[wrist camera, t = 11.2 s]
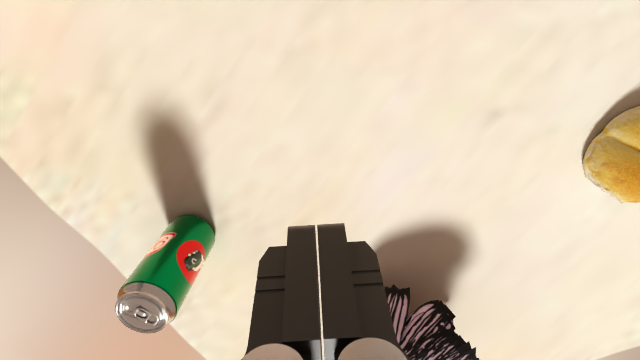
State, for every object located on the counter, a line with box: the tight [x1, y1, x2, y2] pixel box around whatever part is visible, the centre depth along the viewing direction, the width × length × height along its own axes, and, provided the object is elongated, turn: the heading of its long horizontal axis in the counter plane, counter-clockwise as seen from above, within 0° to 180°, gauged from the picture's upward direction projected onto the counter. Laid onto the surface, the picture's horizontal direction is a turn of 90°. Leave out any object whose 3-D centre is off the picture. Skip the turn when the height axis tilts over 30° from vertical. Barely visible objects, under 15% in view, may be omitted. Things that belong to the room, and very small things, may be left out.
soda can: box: [115, 215, 215, 333], centre depth 37 cm, size 5×5×12 cm
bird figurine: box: [385, 285, 479, 360], centre depth 42 cm, size 14×12×15 cm
